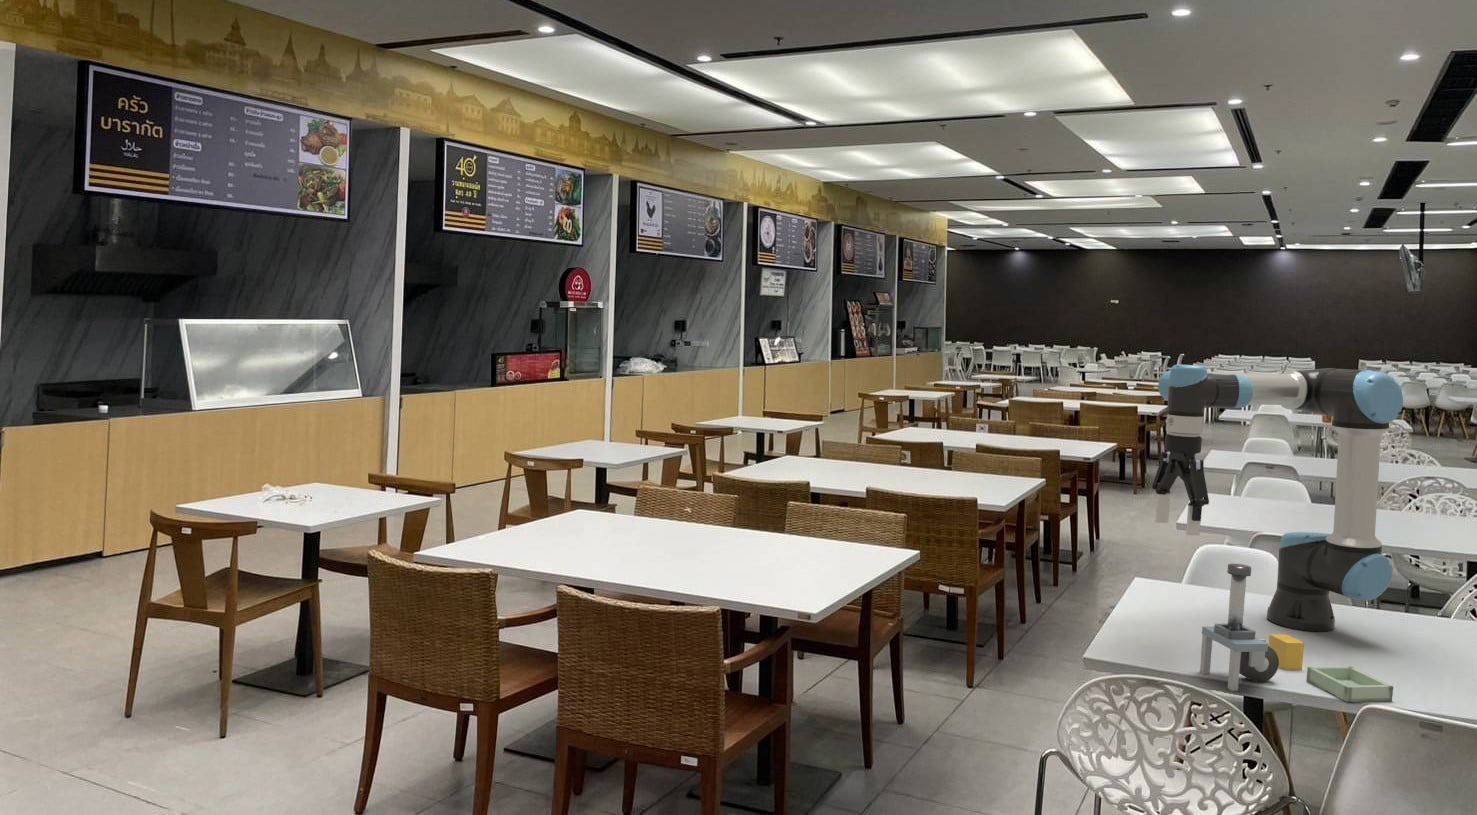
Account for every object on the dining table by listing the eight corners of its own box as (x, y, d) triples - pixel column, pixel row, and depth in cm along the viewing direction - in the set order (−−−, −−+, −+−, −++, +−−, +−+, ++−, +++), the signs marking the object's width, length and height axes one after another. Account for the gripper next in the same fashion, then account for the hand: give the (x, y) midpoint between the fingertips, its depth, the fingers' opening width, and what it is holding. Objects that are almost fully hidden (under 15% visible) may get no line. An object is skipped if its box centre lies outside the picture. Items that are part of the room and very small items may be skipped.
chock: (1284, 660, 235) (1286, 634, 234) (1301, 669, 229) (1304, 642, 228) (1267, 660, 234) (1269, 634, 234) (1284, 670, 228) (1287, 643, 228)
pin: (1237, 631, 222) (1242, 563, 220) (1250, 638, 217) (1255, 568, 216) (1218, 631, 221) (1223, 563, 220) (1230, 638, 217) (1236, 568, 215)
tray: (1349, 680, 223) (1350, 666, 222) (1392, 701, 211) (1393, 686, 211) (1306, 680, 221) (1307, 667, 221) (1346, 702, 209) (1347, 687, 209)
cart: (1199, 671, 225) (1202, 619, 224) (1255, 670, 227) (1259, 619, 226) (1232, 691, 214) (1236, 637, 213) (1291, 690, 215) (1295, 636, 214)
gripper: (1140, 427, 245) (1134, 517, 247) (1197, 440, 221) (1190, 540, 222) (1171, 428, 246) (1164, 517, 248) (1231, 441, 221) (1223, 540, 223)
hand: (1176, 528), depth 235 cm, fingers open, 13 cm apart
